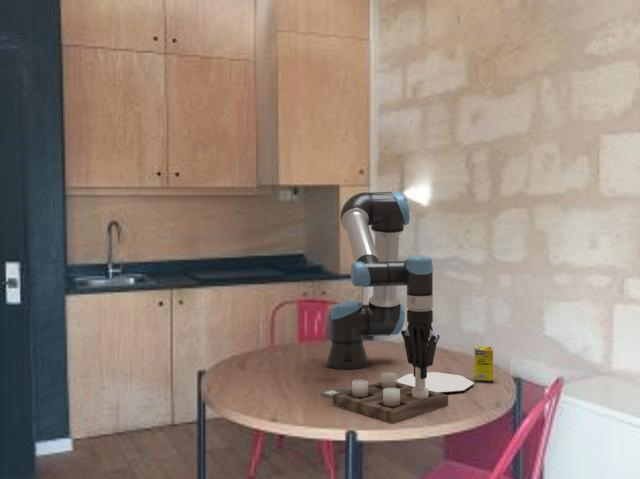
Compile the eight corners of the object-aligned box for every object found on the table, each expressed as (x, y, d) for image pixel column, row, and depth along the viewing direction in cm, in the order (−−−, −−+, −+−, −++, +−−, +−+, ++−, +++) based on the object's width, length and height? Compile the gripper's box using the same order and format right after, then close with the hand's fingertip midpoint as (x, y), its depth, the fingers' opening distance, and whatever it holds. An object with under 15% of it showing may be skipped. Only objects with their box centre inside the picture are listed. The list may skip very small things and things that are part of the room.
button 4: (408, 402, 198) (408, 389, 198) (419, 399, 201) (419, 386, 201) (421, 406, 194) (421, 392, 194) (431, 402, 198) (431, 389, 197)
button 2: (377, 386, 207) (377, 374, 207) (388, 384, 210) (388, 371, 210) (389, 389, 204) (389, 376, 203) (399, 386, 207) (399, 374, 207)
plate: (455, 400, 204) (455, 395, 204) (386, 389, 216) (386, 385, 216) (481, 382, 224) (481, 378, 224) (416, 373, 236) (416, 369, 236)
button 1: (348, 394, 199) (348, 381, 199) (360, 391, 202) (360, 378, 202) (360, 398, 195) (360, 384, 195) (371, 394, 199) (371, 381, 198)
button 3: (379, 403, 190) (379, 389, 189) (391, 400, 193) (390, 386, 193) (392, 407, 186) (392, 393, 186) (403, 403, 189) (403, 389, 189)
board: (332, 404, 199) (332, 394, 199) (387, 389, 215) (387, 380, 215) (393, 423, 181) (393, 412, 181) (448, 405, 197) (448, 395, 197)
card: (320, 394, 210) (320, 392, 210) (341, 389, 216) (341, 386, 216) (340, 400, 203) (340, 398, 203) (361, 394, 209) (361, 392, 209)
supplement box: (493, 383, 221) (493, 350, 221) (474, 382, 222) (474, 349, 222) (492, 378, 227) (492, 346, 226) (474, 377, 228) (474, 346, 228)
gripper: (394, 308, 199) (395, 387, 200) (429, 313, 189) (429, 395, 190) (411, 305, 204) (411, 382, 205) (445, 310, 194) (446, 390, 195)
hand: (420, 388), depth 198 cm, fingers closed
